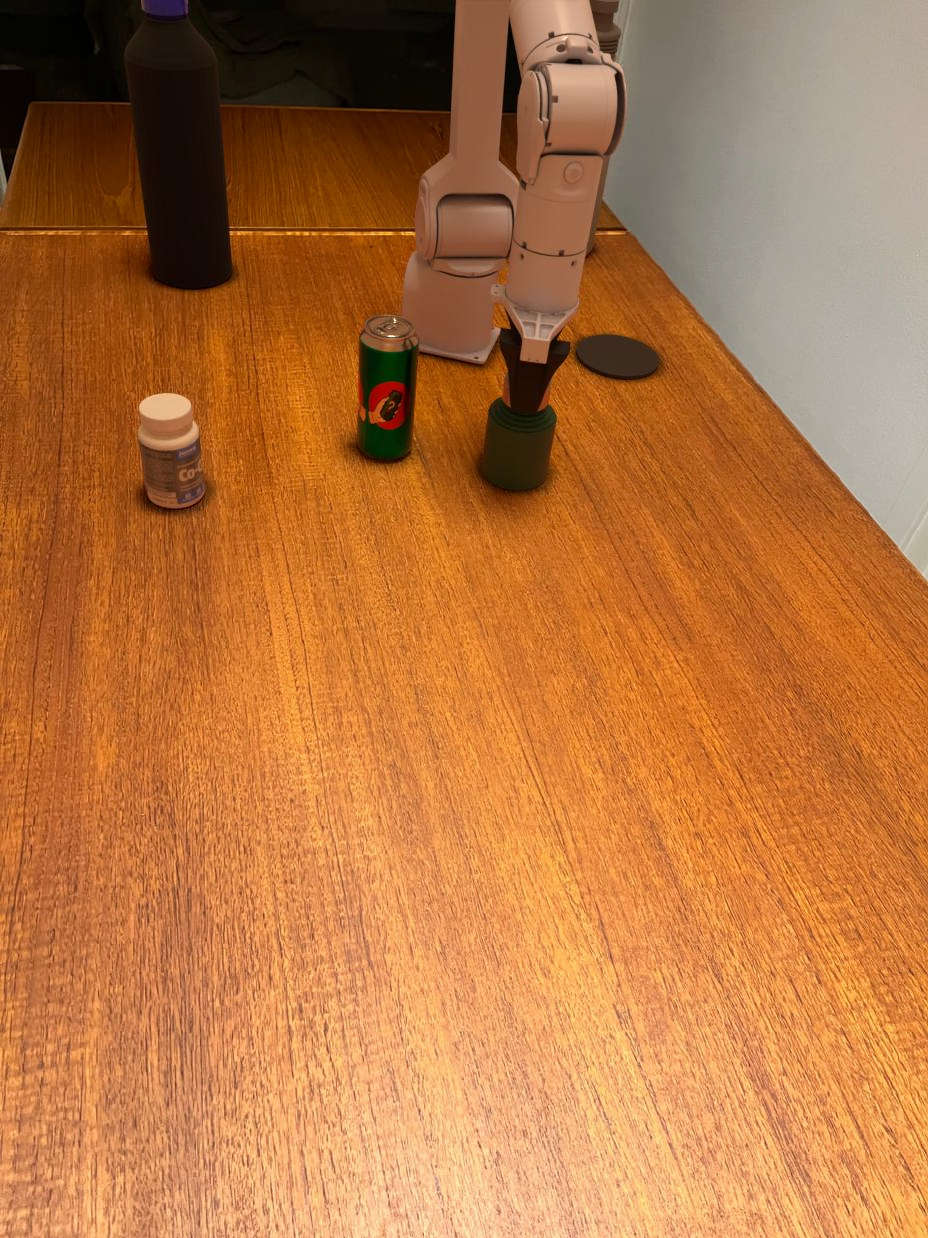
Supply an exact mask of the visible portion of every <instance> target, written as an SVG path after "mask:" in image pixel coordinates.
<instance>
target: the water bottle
mask: <svg viewBox="0 0 928 1238" xmlns="http://www.w3.org/2000/svg"><path fill="white" fill-rule="evenodd" d="M589 2H590V6H591V11H592V15H593V20H594V24H595V29H596V33H597V38H598V42H599V47H600V51H601V52H603V53H608V54H610V56H611V59H612V61H613V62H616V61H617V57H618V56H617V55H616V54H617V53H618V49H619V43H620V39H621V36H622V29H621V28H620V27H619V26H618V25H617V24H616V22H614V17H615V14H617V13H618V12H619V5H620V0H589ZM601 158H602V160H603V164H602V169H601V174H600V180H599V185H598V190H597V196H596V202H595V207H594V212H593V218H592V223H591V229H590V234H589V239H588V245H587V250H586V255H585V256H587V255H588V254H590V252H591V251H592V250H593V247H594V245H595V238H596V234H597V229H598V223H599V219H600V218H599V217H600V212H601V207H602V202H603V197H604V192H605V186H606V181H607V176H608V171H609V166H610V160H611V155H610V156H605V155H604V154H603V155H602V156H601Z"/></svg>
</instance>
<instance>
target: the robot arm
mask: <svg viewBox="0 0 928 1238" xmlns="http://www.w3.org/2000/svg"><path fill="white" fill-rule="evenodd" d="M454 16H455V19H454V36H453V37H454V40H453V59H452V65H453V66H452V83H451V84H452V85H451V106H450V107H451V108H450V127H449V130H450V131H449V150H448V153H447V154H446V155H445V156H444V157H442V159H440V160H439V161H438V162H436V163H435V164H434V165H432V166H431V167H430V168H428V169H427V170H426V171H425V172H424V173H423V174H422V175H421V176H420V180H419V182H418V196H417V201H416V204H415V211H414V236H415V237H414V238H415V244H416V249H417V250H414V251H413V252H412V253H411V255H410V256H409V259H408V262H407V264H406V268H405V272H404V278H403V283H402V298H401V315H400V316H401V317H404V318H406V319H408V320H410V321H411V322H412V323H413V324H414V325H415V327H416V334H417V335H418V337H419V352H421V353H426V354H430V355H434V356H440V357H444V358H448V359H454V360H458V361H461V362H462V361H463V362H468V363H472V364H477V365H485V364H486V362H487V361H488V358H489V357H490V354H491V352H492V351H493V349H494V346H495V345H496V342H497V341H498V346H499V350H500V353H501V355H502V358H503V359H504V362H505V366H506V370H507V372H508V377H509V396H510V406H511V411H512V412H515V413H522V414H529V415H535V414H536V413H537V411H538V409H539V407H540V405H541V402H542V400H543V397H544V395H545V392H546V390H547V387H548V385H549V382H550V380H551V381H552V379H553V377H554V375H555V373H556V372H557V371H558V369H559V368H561V367H560V366H562V364H563V363H564V362H566V361H567V358H568V357H569V355H570V353H571V345H572V344H571V343H572V342H571V341H567V340H562V339H561V340H560V339H559V337H560V336H561V334H562V332H563V330H564V329H565V328H566V326H567V325H568V323H569V322H570V321H571V320H573V318H574V317H575V316H576V315H577V314H578V311H579V307H580V297H579V293H580V287H581V282H582V277H583V271H584V265H585V260H586V256H587V255H586V250H587V245H588V239H589V234H590V229H591V223H592V218H593V212H594V207H595V202H596V196H597V190H598V185H599V180H600V174H601V169H602V164H603V160H602V158H601V156H602V155H603V154H604V155H605V156H610V157H611V156H612V155H613V154H614V153H615V152H616V151H617V149H618V147H619V145H620V143H621V141H622V138H623V134H624V131H625V125H626V120H627V109H628V93H627V92H628V91H627V84H626V79H625V72H624V69H623V68H622V66H621V64H619V63H618V62H616V61H615V62H613V61H612V59H611V56H610V54H608V53H603V52H601V51H600V47H599V42H598V38H597V33H596V29H595V24H594V20H593V15H592V11H591V6H590V2H589V0H455V15H454ZM509 23H510V27H511V34H512V38H513V43H514V47H515V53H516V57H517V58H516V59H517V64H518V68H519V73H520V78H521V84H520V88H519V92H518V96H517V108H516V126H517V127H516V128H517V149H516V156H515V161H516V165H515V166H516V172H518V174H519V176H520V177H519V179H518V178H517V176H516V175H515V174H514V173H513V172H512V171H511V170H510V169H509V168H508V167H506V166H505V165H504V164H503V163H502V162H501V161H500V160H499V159H500V158H499V157H500V144H501V143H500V142H501V129H502V117H503V105H504V104H503V102H504V101H503V100H504V89H505V87H504V86H505V75H506V73H505V72H506V63H507V61H506V60H507V48H508V35H509ZM507 261H509V262H508V268H507V269H508V270H507V277H506V284H501V283H500V284H499V277H500V271H505V269H506V263H507ZM496 304H500V305H502V306H503V307H504V311H505V314H506V317H507V320H508V323H509V327H510V328H506V327H501V328H500V327H496V326H494V325H493V324H494V316H495V307H496Z"/></svg>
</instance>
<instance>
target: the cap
mask: <svg viewBox="0 0 928 1238" xmlns="http://www.w3.org/2000/svg"><path fill="white" fill-rule="evenodd" d="M552 383H553V382H552V379H551V380H550V382H549V385H548V387H547V390H546V392H545V395H544V397H543V400H542V402H541V405H540V407H539V409H538V411H540V410H543V409H544V408H545V407H546V406H547V405H548V404H549V403H550V397H551V390H552ZM501 396H502V400H503V402H504V403H505V404H506V405H507V406H509V407H510V408H511V406H510V396H509V377H508V371H506V372H505V374H504V377H503V385H502V392H501Z"/></svg>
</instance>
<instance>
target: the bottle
mask: <svg viewBox="0 0 928 1238" xmlns="http://www.w3.org/2000/svg"><path fill="white" fill-rule="evenodd" d="M140 1H141V9H142V11H143V12H144V17H143V20H142V23H141V25H140V26H139V27H138V29H137V30H136V32H135V33H134V34H133V36H132V37H131V38H130V40H129V41H128V43H127V45H126V46H125V49H124V53H123V59H124V65H125V74H126V79H127V80H126V81H127V88H128V90H127V91H128V96H129V104H130V105H129V106H130V111H131V119H132V126H133V127H132V128H133V135H134V143H135V149H136V156H137V157H136V158H137V165H138V173H139V179H140V187H141V195H142V203H143V211H144V215H145V216H144V218H145V226H146V233H147V240H148V241H147V242H148V249H149V256H150V264H151V270H152V271H151V272H152V275H153V276H154V277H155V278H156V279H157V280H159V281H160V282H161V283H164V284H166V285H168V286H171V287H176V288H181V289H195V290H196V289H205V288H212V287H215V286H217V285H220V284H223V283H224V282H226V280H228V279H229V278H230V277H231V276H232V274H233V258H232V257H233V256H232V246H231V232H230V218H229V205H228V203H229V202H228V191H227V176H226V163H225V150H224V149H225V148H224V137H223V136H224V135H223V134H224V133H223V122H222V108H221V107H222V106H221V96H220V95H221V94H220V80H219V68H218V58H217V55H216V53H215V51H214V49H213V48H212V47H211V45H210V44H209V43H208V41H207V40H206V39H205V38H204V37H203V36H202V35H201V34H200V33H199V32H198V30H197V29H196V28H195V27H194V25H193V24H192V22H191V20H190V17H189V15H188V13H189V12H190V9H189V0H140Z"/></svg>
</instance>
